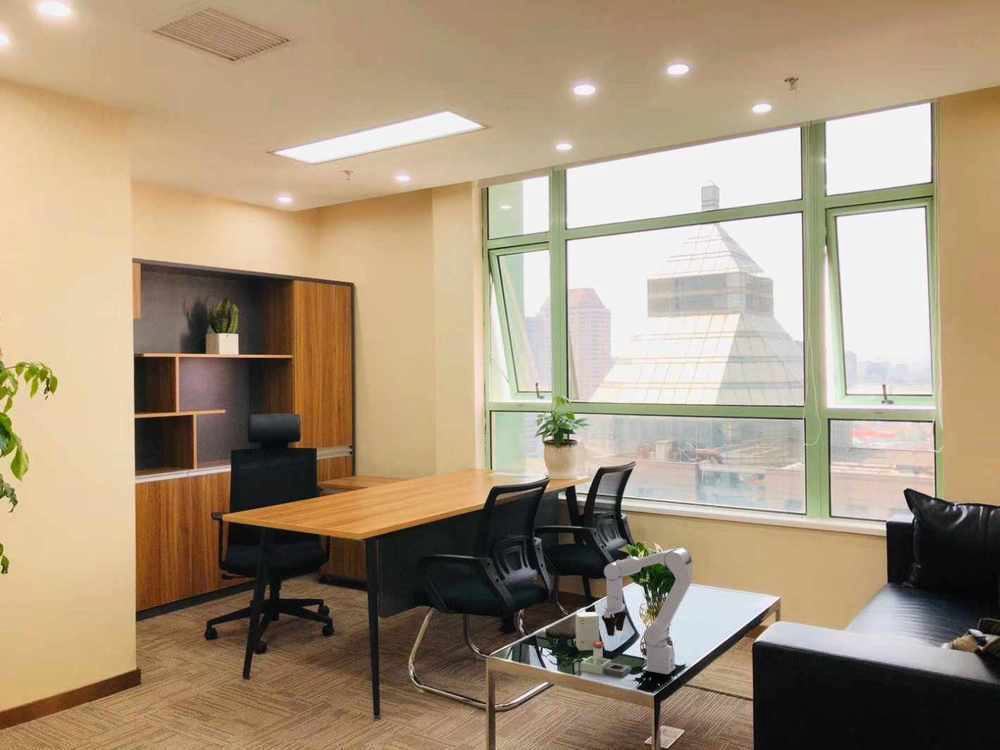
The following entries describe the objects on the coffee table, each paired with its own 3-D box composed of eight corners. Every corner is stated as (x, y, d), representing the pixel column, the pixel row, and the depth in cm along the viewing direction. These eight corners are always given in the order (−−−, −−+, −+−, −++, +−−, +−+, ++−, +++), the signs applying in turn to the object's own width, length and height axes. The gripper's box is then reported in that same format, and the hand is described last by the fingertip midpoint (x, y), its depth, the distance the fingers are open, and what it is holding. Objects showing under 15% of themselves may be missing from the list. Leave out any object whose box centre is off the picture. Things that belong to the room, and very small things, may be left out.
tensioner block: (630, 671, 288) (630, 666, 288) (622, 677, 282) (622, 671, 282) (612, 668, 292) (612, 662, 292) (603, 674, 286) (603, 668, 286)
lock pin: (605, 668, 291) (605, 642, 292) (600, 671, 288) (600, 645, 288) (595, 666, 293) (595, 640, 294) (590, 669, 290) (590, 643, 290)
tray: (611, 667, 292) (611, 659, 292) (601, 674, 286) (601, 666, 286) (591, 664, 297) (590, 656, 297) (581, 670, 290) (581, 662, 290)
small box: (596, 645, 320) (595, 611, 320) (599, 650, 313) (599, 615, 314) (575, 645, 319) (575, 612, 319) (578, 650, 312) (578, 616, 313)
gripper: (612, 590, 308) (613, 626, 308) (596, 598, 296) (596, 636, 295) (630, 592, 304) (630, 629, 304) (614, 600, 292) (614, 639, 292)
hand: (615, 633), depth 299 cm, fingers open, 7 cm apart
